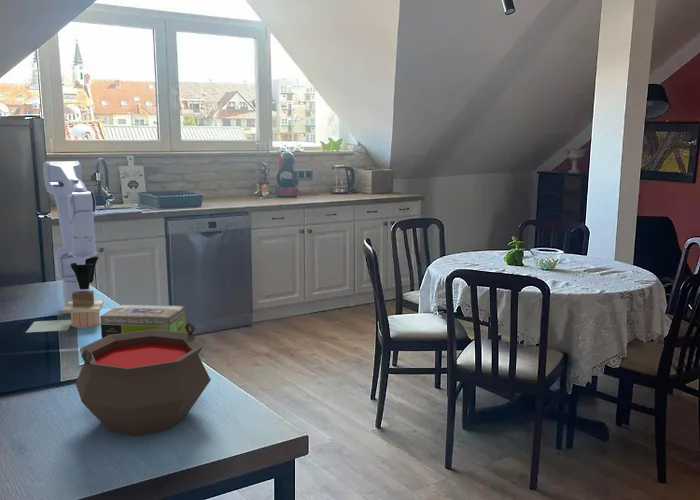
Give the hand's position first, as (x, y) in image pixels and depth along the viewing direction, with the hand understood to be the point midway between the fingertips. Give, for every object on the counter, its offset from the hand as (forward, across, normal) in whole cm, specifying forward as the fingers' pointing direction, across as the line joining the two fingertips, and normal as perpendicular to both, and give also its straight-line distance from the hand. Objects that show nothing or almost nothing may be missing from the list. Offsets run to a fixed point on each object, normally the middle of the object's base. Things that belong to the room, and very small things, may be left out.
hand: (86, 285), depth 180 cm
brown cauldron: (+10, +68, +19) cm, 71 cm away
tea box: (+10, +46, +18) cm, 50 cm away
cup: (+10, +5, 0) cm, 11 cm away
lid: (+5, +5, 0) cm, 7 cm away
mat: (+10, +5, -9) cm, 14 cm away
